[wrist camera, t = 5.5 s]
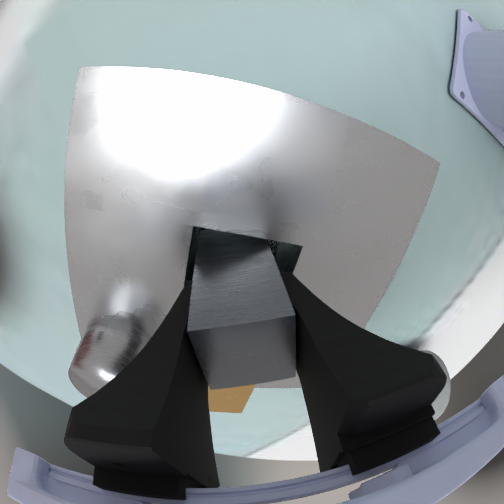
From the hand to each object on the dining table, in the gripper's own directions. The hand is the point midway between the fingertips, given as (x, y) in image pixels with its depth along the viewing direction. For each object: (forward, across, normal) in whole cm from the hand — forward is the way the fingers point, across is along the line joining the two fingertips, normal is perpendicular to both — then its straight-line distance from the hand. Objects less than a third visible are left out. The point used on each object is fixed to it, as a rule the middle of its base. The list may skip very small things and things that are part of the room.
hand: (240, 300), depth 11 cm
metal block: (+4, 0, 0) cm, 4 cm away
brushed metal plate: (+4, 0, 0) cm, 4 cm away
